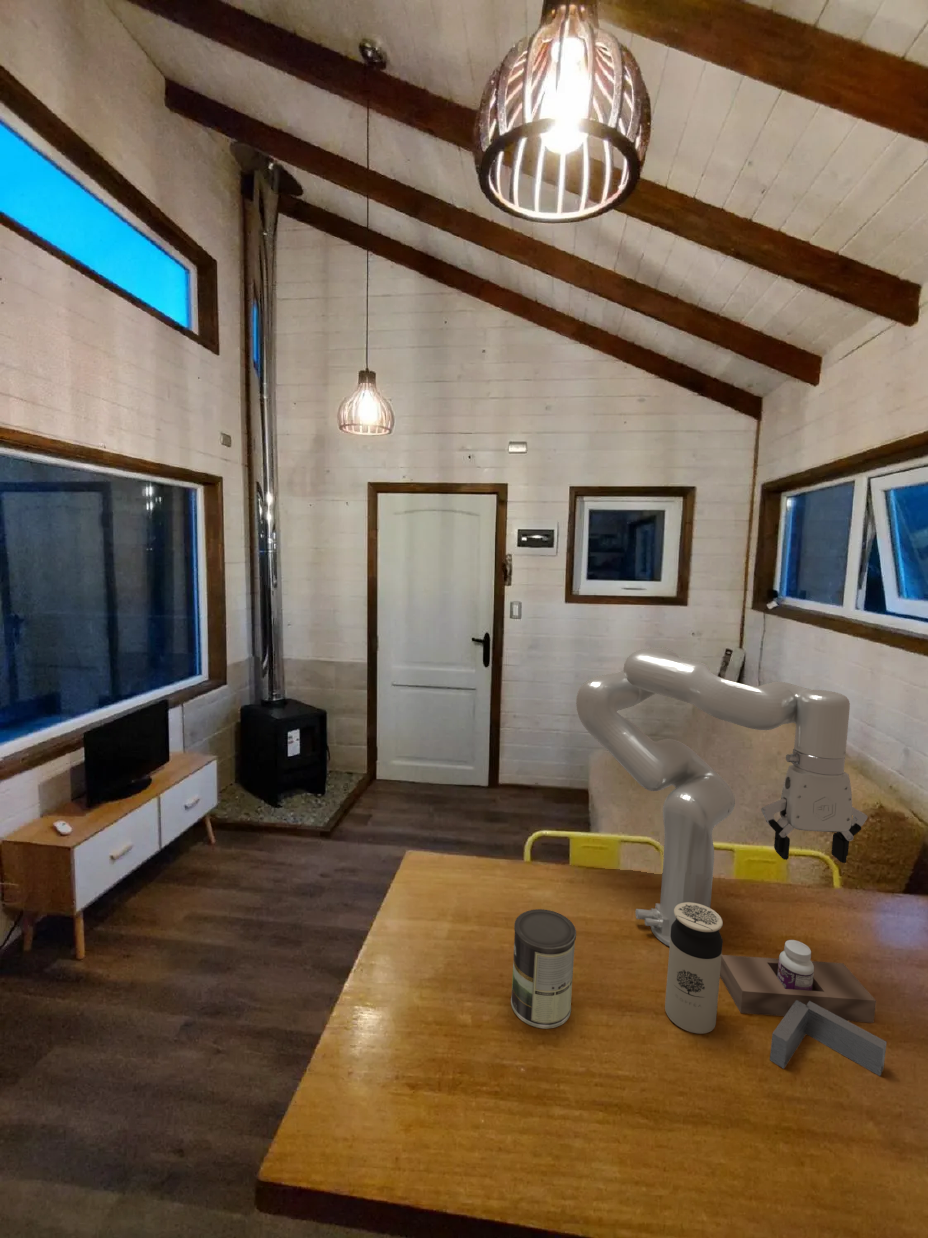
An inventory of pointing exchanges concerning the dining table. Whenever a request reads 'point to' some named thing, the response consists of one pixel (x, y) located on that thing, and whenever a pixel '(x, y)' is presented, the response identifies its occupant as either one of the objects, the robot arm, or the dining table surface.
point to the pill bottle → (796, 966)
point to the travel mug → (694, 967)
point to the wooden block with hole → (766, 995)
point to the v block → (826, 1037)
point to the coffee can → (543, 968)
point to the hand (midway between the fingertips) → (810, 857)
